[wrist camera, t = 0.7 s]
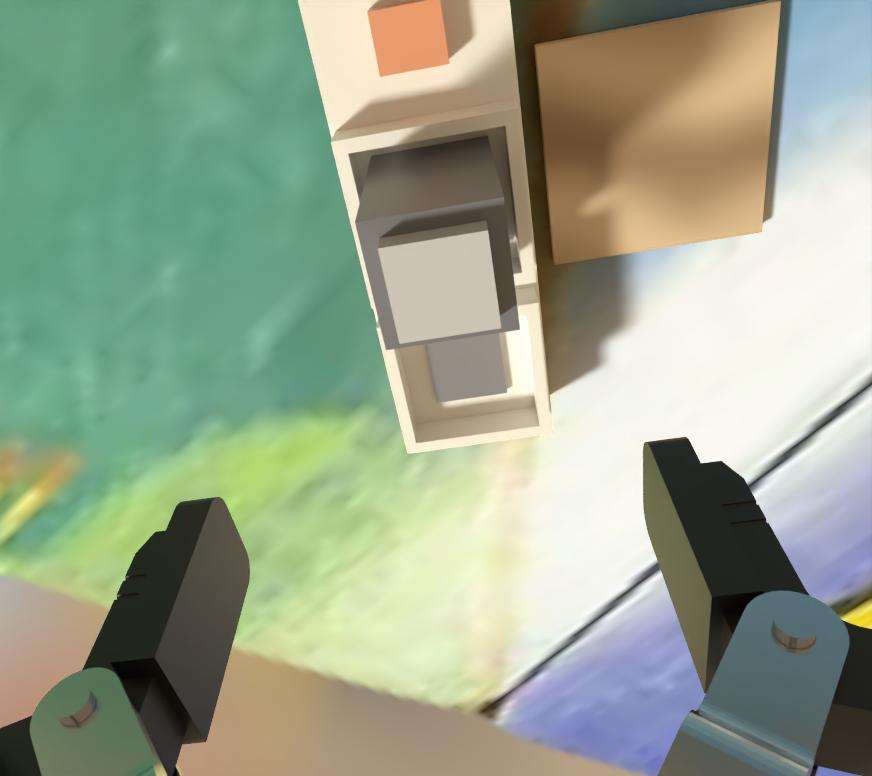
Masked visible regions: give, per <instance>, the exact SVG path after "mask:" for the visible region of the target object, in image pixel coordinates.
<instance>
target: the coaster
mask: <svg viewBox="0 0 872 776" xmlns="http://www.w3.org/2000/svg"><path fill="white" fill-rule="evenodd" d="M780 7H781V1H779V0H768V1H763V2H758V3H752V4H747V5H742V6H736V7H731V8H726V9H720V10H715V11H709V12H704V13H699V14H693V15H688V16H683V17H677V18H672V19H667V20H661V21H656V22H651V23H645V24H640V25H635V26H629V27H624V28H618V29H613V30H608V31H602V32H597V33H592V34H586V35H581V36H576V37H570V38H565V39H560V40H554V41H549V42H544V43H538V44H534V50H535V61H536V73H537V84H538V96H539V107H540V119H541V130H542V142H543V153H544V165H545V176H546V187H547V199H548V210H549V222H550V233H551V245H552V256H553V262H554V264H555V265H559V264H565V263H571V262H578V261H584V260H590V259H596V258H603V257H609V256H615V255H621V254H628V253H634V252H640V251H646V250H653V249H659V248H665V247H672V246H678V245H684V244H690V243H697V242H703V241H709V240H715V239H722V238H728V237H734V236H740V235H747V234H753V233H759V232H762V224H763V212H764V200H765V188H766V176H767V164H768V152H769V140H770V128H771V115H772V103H773V91H774V79H775V67H776V55H777V43H778V31H779V19H780Z"/></svg>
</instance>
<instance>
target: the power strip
mask: <svg viewBox="0 0 872 776" xmlns="http://www.w3.org/2000/svg"><path fill="white" fill-rule="evenodd" d="M298 3H299V7H300V11H301V15H302V19H303V23H304V27H305V31H306V35H307V39H308V43H309V48H310V52H311V56H312V60H313V64H314V68H315V72H316V76H317V80H318V84H319V88H320V93H321V97H322V101H323V105H324V109H325V113H326V117H327V121H328V125H329V129H330V133H331V137H332V140H331V145H332V149H333V153H334V157H335V161H336V165H337V169H338V173H339V177H340V181H341V185H342V190H343V194H344V198H345V202H346V206H347V210H348V214H349V218H350V222H351V226H352V230H353V234H354V238H355V242H356V246H357V251H358V255H359V259H360V263H361V267H362V271H363V275H364V279H365V283H366V287H367V291H368V295H369V299H370V303H371V307H372V308H373V309H374V313H375V317H376V322H377V332H378V336H379V340H380V344H381V348H382V352H383V356H384V360H385V364H386V368H387V373H388V377H389V381H390V385H391V389H392V393H393V397H394V401H395V405H396V409H397V413H398V417H399V421H400V425H401V429H402V434H403V438H404V442H405V446H406V450H407V453H409V454H410V453H418V452H425V451H432V450H439V449H446V448H453V447H461V446H468V445H475V444H482V443H489V442H496V441H504V440H511V439H518V438H525V437H532V436H539V435H547V434H553V424H552V414H551V404H550V394H549V384H548V374H547V364H546V354H545V345H544V335H543V325H542V315H541V305H540V295H539V285H538V275H537V265H536V256H535V246H534V236H533V226H532V216H531V206H530V196H529V186H528V176H527V167H526V157H525V147H524V137H523V127H522V117H521V107H520V97H519V87H518V78H517V68H516V58H515V48H514V38H513V28H512V18H511V8H510V0H298ZM487 135H488V138H489V142H490V146H491V150H492V154H493V157H494V161H495V165H496V169H497V172H498V176H499V180H500V184H501V187H502V191H503V195H504V200H505V209H506V217H507V225H508V234H509V242H510V250H511V258H512V267H513V275H514V283H515V291H516V300H517V308H518V316H519V324H520V330H515V331H509V332H502V333H495V334H489V335H482V336H476V337H469V338H463V339H456V340H450V341H443V342H436V343H430V344H423V345H417V346H410V347H404V348H397V349H391V350H386V348H385V344H384V340H383V336H382V332H381V328H380V324H379V319H378V315H377V311H376V307H375V303H374V299H373V295H372V291H371V286H370V282H369V278H368V274H367V270H366V266H365V262H364V258H363V253H362V249H361V245H360V241H359V237H358V233H357V229H356V225H355V220H356V216H357V212H358V208H359V204H360V200H361V196H362V192H363V188H364V183H365V179H366V175H367V171H368V167H369V163H370V159H371V156H374V155H379V154H385V153H391V152H396V151H402V150H408V149H413V148H419V147H425V146H430V145H436V144H442V143H447V142H453V141H458V140H464V139H470V138H475V137H481V136H487Z"/></svg>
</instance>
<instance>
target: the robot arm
mask: <svg viewBox="0 0 872 776" xmlns="http://www.w3.org/2000/svg"><path fill="white" fill-rule="evenodd" d="M643 503H644V514H645V521H646V526H647V530H648V534H649V537H650V540H651V543H652V546H653V549H654V551H655V554H656V557H657V560H658V563H659V566H660V568H661V571H662V574H663V577H664V580H665V583H666V585H667V588H668V591H669V594H670V597H671V600H672V602H673V605H674V608H675V611H676V614H677V617H678V619H679V622H680V625H681V628H682V631H683V634H684V636H685V639H686V642H687V645H688V648H689V651H690V653H691V656H692V659H693V662H694V665H695V668H696V670H697V673H698V676H699V679H700V682H701V685H702V687H703V690H704V693H706V695H705V697H704V699H703V701H702V703H701V705H700V707H699V709H698V710H697V711H694V710H691V711H690V712H689V713H688V714H687V716H686V717H685V719H684V721H683V723H682V725H681V727H680V729H679V731H678V733H677V735H676V737H675V739H674V741H673V743H672V746H671V748H670V750H669V752H668V754H667V756H666V758H665V761H664V763H663V765H662V767H661V769H660V771H659V773H658V775H657V776H816V775H817V772H818V768H819V766H821V767H825V768H830V769H834V770H839V771H843V772H848V773H852V774H857V775H861V776H872V629H868V628H863V627H859V626H856V625H853V624H850V623H848V622H845V621H843V620H841V618H840V617H839V616H838V615H837V614H836V613H835V612H834V611H833V610H832V609H831V608H830V607H828V606H827V605H826V604H824V603H823V602H821V601H819V600H817V599H815V598H813V597H811V596H810V595H809V594H808V592H807V591H806V589H805V588H804V586H803V584H802V582H801V581H800V579H799V577H798V575H797V573H796V572H795V570H794V568H793V566H792V564H791V563H790V561H789V559H788V557H787V555H786V554H785V552H784V550H783V548H782V546H781V545H780V543H779V541H778V539H777V537H776V536H775V534H774V532H773V530H772V528H771V527H770V525H769V523H767V522H766V518H765V516H764V514H763V512H762V511H761V509H760V507H759V505H757V504H756V500H755V498H754V496H753V494H752V493H751V491H750V489H749V487H748V485H747V484H746V482H745V480H744V478H742V477H741V476H740V475H739V474H737V473H736V472H735V471H733V470H732V469H731V468H730V467H728V466H727V465H726V464H724V463H723V462H722V461H717V462H709V463H700V461H699V459H698V457H697V455H696V453H695V451H694V449H693V447H692V445H691V443H690V441H689V439H688V438H687V437H681V438H673V439H666V440H658V441H651V442H645V443H644V447H643ZM125 577H126V580H125V581H123V582H122V585H121V587H120V589H119V591H118V593H117V600H114V602H113V604H112V606H111V609H110V611H109V613H108V615H107V617H106V620H105V622H104V624H103V626H102V629H101V630H100V633H99V635H98V637H97V639H96V642H95V644H94V646H93V648H92V650H91V652H90V655H89V657H88V659H87V661H86V663H85V665H84V668H83V669H82V671H79V672H76V673H74V674H72V675H70V676H68V677H67V678H65V679H64V680H62V681H61V682H59V683H58V684H57V685H55V686H54V687H53V688H52V689H51V690H50V691H49V692H48V693H47V694H46V695H45V696H44V697H43V699H42V700H41V701H40V703H39V704H38V706H37V707H36V709H35V711H34V713H33V715H32V716H30V717H28V718H25V719H23V720H20V721H18V722H15V723H13V724H10V725H8V726H5V727H2V728H0V776H183V774H182V772H181V770H180V769H179V767H178V766H177V764H176V763H177V760H178V756H179V753H180V749H181V746H182V744H191V743H201V742H206V740H207V737H208V733H209V729H210V725H211V722H212V718H213V714H214V711H215V707H216V703H217V700H218V696H219V692H220V688H221V685H222V681H223V677H224V674H225V670H226V666H227V662H228V659H229V655H230V651H231V648H232V644H233V640H234V636H235V633H236V629H237V625H238V622H239V618H240V614H241V610H242V607H243V603H244V599H245V595H246V592H247V588H248V584H249V577H250V567H249V559H248V555H247V552H246V549H245V547H244V544H243V542H242V540H241V538H240V535H239V533H238V531H237V528H236V526H235V524H234V522H233V519H232V517H231V515H230V513H229V510H228V508H227V506H226V504H225V502H224V500H223V499H222V498H220V497H214V498H206V499H199V500H191V501H183V502H180V503H179V504H178V505H177V506H176V508H175V510H174V513H173V515H172V517H171V520H170V522H169V524H168V527H167V529H166V531H159V532H155V533H154V534H153V535H152V536H151V537H150V538H149V540H148V541H147V542H146V543H145V544H144V545H143V546H142V547H141V548H140V549H139V550H138V552H137V553H136V554H135V556H134V558H133V561H132V563H131V565H130V567H129V569H128V571H127V574H126V576H125Z"/></svg>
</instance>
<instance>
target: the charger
mask: <svg viewBox="0 0 872 776" xmlns="http://www.w3.org/2000/svg"><path fill="white" fill-rule="evenodd" d="M355 225H356V229H357V233H358V237H359V241H360V245H361V249H362V253H363V258H364V262H365V266H366V270H367V274H368V278H369V282H370V286H371V291H372V295H373V299H374V303H375V307H376V311H377V315H378V319H379V324H380V328H381V332H382V336H383V340H384V344H385V348H386V350H391V349H397V348H404V347H410V346H417V345H423V344H430V343H436V342H443V341H450V340H456V339H463V338H469V337H476V336H482V335H489V334H495V333H502V332H509V331H515V330H520V324H519V316H518V308H517V300H516V291H515V283H514V275H513V267H512V258H511V250H510V242H509V234H508V225H507V217H506V209H505V200H504V195H503V191H502V187H501V184H500V180H499V176H498V172H497V169H496V165H495V161H494V157H493V154H492V150H491V146H490V142H489V138H488V135H487V136H481V137H475V138H470V139H464V140H458V141H453V142H447V143H442V144H436V145H430V146H425V147H419V148H413V149H408V150H402V151H396V152H391V153H385V154H379V155H374V156H371V159H370V163H369V167H368V171H367V175H366V179H365V183H364V188H363V192H362V196H361V200H360V204H359V208H358V212H357V216H356V220H355Z"/></svg>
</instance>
